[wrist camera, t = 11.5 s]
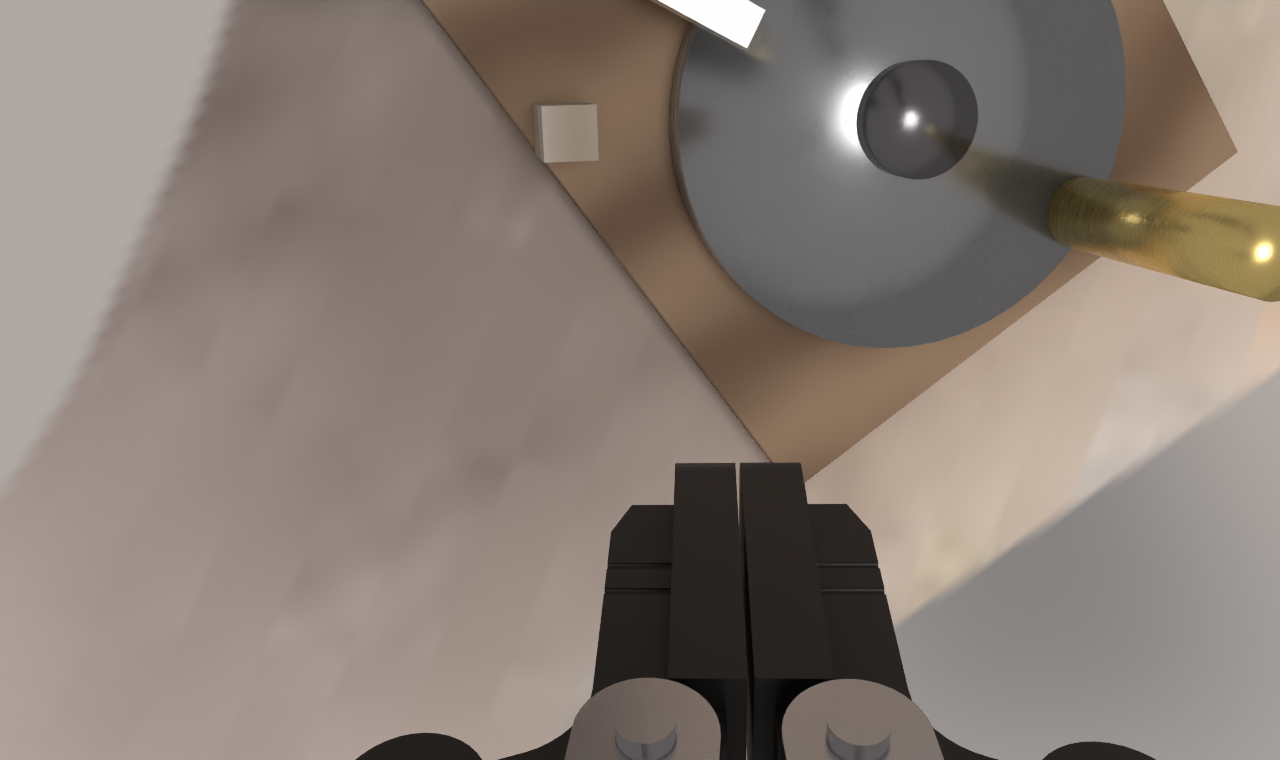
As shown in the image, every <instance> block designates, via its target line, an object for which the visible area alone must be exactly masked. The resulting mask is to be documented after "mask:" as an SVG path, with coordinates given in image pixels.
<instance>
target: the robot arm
mask: <svg viewBox="0 0 1280 760" xmlns="http://www.w3.org/2000/svg"><path fill="white" fill-rule="evenodd" d="M746 746H747V760H997V759H993V758H989V757H987V756H984V755H981V754H977V753H974V752H972V751H970V750H968V749H965V748H963V747H961V746H959V745H957V744H955V743H954V742H952V741H950V740H949V739H947V738H945V737H944V736H943V735H942V734H940V733H939V732H938V731H936V730H935V729H934V728H933V727H932V725H931V723H930V721H929V720H928V718H927V717H926V715H925V714H924V713H923V711H922V710H921V709H920V708H919V707H918V706H917V705H916V704H915V703H914V702H913V701H912V699H911V696H910V693H909V691H908V687H907V683H906V678H905V674H904V670H903V665H902V661H901V657H900V653H899V648H898V644H897V640H896V636H895V632H894V627H893V623H892V619H891V615H890V610H889V606H888V602H887V598H886V594H884V585H883V581H882V577H881V572H880V568H878V560H877V555H876V551H875V547H874V543H873V538H872V534H871V531H870V530H869V529H868V527H867V526H866V525H865V524H864V523H863V522H862V521H861V520H860V519H859V517H858V516H857V515H856V514H855V513H854V512H853V511H852V510H851V509H850V507H849V506H848V505H847V504H807V497H806V491H805V485H804V478H803V472H802V466H801V463H800V462H792V463H740V475H739V522H738V504H737V486H736V469H735V463H677V464H675V488H674V505H632V506H631V507H630V508H629V510H628V511H627V512H626V514H625V515H624V516H623V517H622V519H621V520H620V521H619V523H618V524H617V525H616V527H615V528H614V529H613V530H612V532H611V539H610V547H609V556H608V569H607V573H606V581H605V594H604V598H603V607H602V615H601V624H600V632H599V641H598V649H597V658H596V666H595V675H594V683H593V690H592V694H591V698H590V699H589V700H588V701H587V702H586V703H585V704H584V705H583V707H582V708H581V709H580V711H579V712H578V714H577V716H576V717H575V720H574V723H573V726H572V727H571V728H570V729H568V730H567V731H566V732H565V733H564V734H562V735H561V736H559V737H558V738H556V739H555V740H553V741H551V742H550V743H548V744H545V745H543V746H541V747H539V748H537V749H534V750H531V751H528V752H525V753H521V754H517V755H514V756H510V757H506V758H502V759H499V760H746ZM356 760H482V759H481V758H480V756H479V755H478V753H477V752H476V751H474V750H473V749H472V748H471V747H470V746H469V745H467V744H466V743H464V742H462V741H461V740H458V739H456V738H453V737H451V736H447V735H442V734H436V733H417V734H409V735H405V736H400V737H397V738H394V739H391V740H388V741H385V742H383V743H381V744H379V745H377V746H375V747H373V748H372V749H370V750H369V751H367V752H365V753H364V754H362V755H361V756H360V757H358V758H357V759H356ZM1043 760H1155V759H1154V758H1152V757H1150V756H1148V755H1146V754H1143V753H1141V752H1139V751H1136V750H1133V749H1130V748H1127V747H1125V746H1120V745H1116V744H1111V743H1103V742H1079V743H1074V744H1069V745H1066V746H1063V747H1060V748H1058V749H1056V750H1054V751H1053V752H1051V753H1049V754H1048V755H1047V756H1046V757H1045V758H1044V759H1043Z"/></svg>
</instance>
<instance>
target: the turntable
mask: <svg viewBox="0 0 1280 760" xmlns="http://www.w3.org/2000/svg"><path fill="white" fill-rule="evenodd" d="M421 1H422V2H423V4H424V5H425V6H426V8H427V9H428V10H429V11H430V13H431V14H432V15H433V17H434V18H435V19H436V21H437V22H438V23H439V25H440V26H441V27H442V29H443V30H444V31H445V33H446V34H447V35H448V37H449V38H450V39H451V40H452V42H453V43H454V44H455V46H456V47H457V48H458V50H459V51H460V52H461V54H462V55H463V56H464V58H465V59H466V60H467V62H468V63H469V64H470V66H471V67H472V68H473V69H474V71H475V72H476V73H477V75H478V76H479V77H480V79H481V80H482V81H483V83H484V84H485V85H486V87H487V88H488V89H489V91H490V92H491V93H492V95H493V96H494V97H495V98H496V100H497V101H498V102H499V104H500V105H501V106H502V108H503V109H504V110H505V112H506V113H507V114H508V116H509V117H510V118H511V120H512V121H513V122H514V124H515V125H516V126H517V127H518V129H519V130H520V131H521V133H522V134H523V135H524V137H525V138H526V139H527V141H528V142H529V143H530V145H531V146H532V147H533V149H534V150H535V151H536V156H537V157H538V158H539V159H540V160H542V161H543V162H544V163H545V164H546V166H547V167H548V168H549V170H550V171H551V172H552V174H553V175H554V176H555V178H556V179H557V180H558V182H559V183H560V184H561V185H562V187H563V188H564V189H565V191H566V192H567V193H568V195H569V196H570V197H571V199H572V200H573V201H574V203H575V204H576V205H577V207H578V208H579V209H580V211H581V212H582V213H583V214H584V216H585V217H586V218H587V220H588V221H589V222H590V224H591V225H592V226H593V228H594V229H595V230H596V232H597V233H598V234H599V236H600V237H601V238H602V240H603V241H604V242H605V243H606V245H607V246H608V247H609V249H610V250H611V251H612V253H613V254H614V255H615V257H616V258H617V259H618V261H619V262H620V263H621V265H622V266H623V267H624V269H625V270H626V271H627V272H628V274H629V275H630V276H631V278H632V279H633V280H634V282H635V283H636V284H637V286H638V287H639V288H640V290H641V291H642V292H643V294H644V295H645V296H646V298H647V299H648V300H649V301H650V303H651V304H652V305H653V307H654V308H655V309H656V311H657V312H658V313H659V315H660V316H661V317H662V319H663V320H664V321H665V323H666V324H667V325H668V327H669V328H670V329H671V330H672V332H673V333H674V334H675V336H676V337H677V338H678V340H679V341H680V342H681V344H682V345H683V346H684V348H685V349H686V350H687V352H688V353H689V354H690V356H691V357H692V358H693V359H694V361H695V362H696V363H697V365H698V366H699V367H700V369H701V370H702V371H703V373H704V374H705V375H706V377H707V378H708V379H709V381H710V382H711V383H712V385H713V386H714V387H715V388H716V390H717V391H718V392H719V394H720V395H721V396H722V398H723V399H724V400H725V402H726V403H727V404H728V406H729V407H730V408H731V410H732V411H733V412H734V414H735V415H736V416H737V417H738V419H739V420H740V421H741V423H742V424H743V425H744V427H745V428H746V429H747V431H748V432H749V433H750V435H751V436H752V437H753V439H754V440H755V441H756V443H757V444H758V445H759V446H760V448H761V449H762V450H763V452H764V453H765V454H766V456H767V457H768V458H769V460H770V461H771V462H772V463H792V462H800V463H801V466H802V472H803V478H804V483H805V482H806V481H807V480H809V479H810V478H811V477H813V476H814V475H815V474H816V473H818V472H819V471H820V470H822V469H823V468H824V467H826V466H827V465H828V464H830V463H831V462H832V461H833V460H835V459H836V458H837V457H839V456H840V455H841V454H843V453H844V452H845V451H847V450H848V449H849V448H851V447H852V446H853V445H854V444H856V443H857V442H858V441H860V440H861V439H862V438H864V437H865V436H866V435H868V434H869V433H870V432H871V431H873V430H874V429H875V428H877V427H878V426H879V425H881V424H882V423H883V422H885V421H886V420H887V419H889V418H890V417H891V416H892V415H894V414H895V413H896V412H898V411H899V410H900V409H902V408H903V407H904V406H906V405H907V404H908V403H909V402H911V401H912V400H913V399H915V398H916V397H917V396H919V395H920V394H921V393H923V392H924V391H925V390H926V389H928V388H929V387H930V386H932V385H933V384H934V383H936V382H937V381H938V380H940V379H941V378H942V377H944V376H945V375H946V374H947V373H949V372H950V371H951V370H953V369H954V368H955V367H957V366H958V365H959V364H961V363H962V362H963V361H964V360H966V359H967V358H968V357H970V356H971V355H972V354H974V353H975V352H976V351H978V350H979V349H980V348H982V347H983V346H984V345H985V344H987V343H988V342H989V341H991V340H992V339H993V338H995V337H996V336H997V335H999V334H1000V333H1001V332H1002V331H1004V330H1005V329H1006V328H1008V327H1009V326H1010V325H1012V324H1013V323H1014V322H1016V321H1017V320H1018V319H1019V318H1021V317H1022V316H1023V315H1025V314H1026V313H1027V312H1029V311H1030V310H1031V309H1033V308H1034V307H1035V306H1037V305H1038V304H1039V303H1040V302H1042V301H1043V300H1044V299H1046V298H1047V297H1048V296H1050V295H1051V294H1052V293H1054V292H1055V291H1056V290H1057V289H1059V288H1060V287H1061V286H1063V285H1064V284H1065V283H1067V282H1068V281H1069V280H1071V279H1072V278H1073V277H1075V276H1076V275H1077V274H1078V273H1080V272H1081V271H1082V270H1084V269H1085V268H1086V267H1088V266H1089V265H1090V264H1092V263H1093V262H1094V261H1095V260H1097V259H1098V258H1099V257H1101V256H1098V255H1094V254H1091V253H1087V252H1083V251H1080V250H1076V249H1071V250H1070V251H1069V252H1068V254H1067V255H1066V256H1065V257H1064V259H1063V260H1062V261H1061V262H1060V264H1059V265H1058V266H1057V267H1056V268H1055V269H1054V270H1053V271H1052V272H1051V273H1050V274H1049V275H1048V276H1047V277H1046V278H1045V279H1044V280H1043V281H1042V282H1041V283H1040V284H1039V285H1038V286H1037V287H1036V288H1035V289H1034V290H1033V291H1032V292H1030V293H1029V294H1028V295H1026V296H1025V297H1024V298H1023V299H1021V300H1020V301H1019V302H1018V303H1016V304H1015V305H1014V306H1013V307H1011V308H1009V309H1008V310H1006V311H1004V312H1003V313H1001V314H1000V315H998V316H996V317H995V318H993V319H991V320H990V321H988V322H986V323H984V324H982V325H980V326H977V327H975V328H973V329H971V330H969V331H967V332H964V333H962V334H959V335H956V336H953V337H950V338H946V339H943V340H940V341H937V342H933V343H927V344H922V345H916V346H911V347H895V348H873V347H862V346H853V345H848V344H844V343H840V342H835V341H831V340H827V339H824V338H822V337H819V336H816V335H814V334H811V333H809V332H806V331H803V330H801V329H799V328H797V327H796V326H794V325H792V324H790V323H788V322H787V321H785V320H783V319H781V318H779V317H778V316H776V315H775V314H773V313H772V312H771V311H769V310H768V309H766V308H765V307H764V306H762V305H761V304H760V303H758V302H757V301H756V300H754V299H753V298H752V297H750V296H749V295H748V294H747V293H745V292H744V291H743V290H742V289H741V288H740V287H739V286H738V285H737V284H736V283H735V282H734V281H733V280H732V279H731V278H730V277H729V276H728V275H727V274H726V273H725V272H724V271H723V270H722V269H721V267H720V266H719V265H718V263H717V262H716V261H715V259H714V258H713V257H712V255H711V254H710V253H709V252H708V250H707V249H706V247H705V245H704V244H703V242H702V240H701V238H700V237H699V235H698V233H697V231H696V229H695V228H694V226H693V224H692V222H691V219H690V217H689V214H688V212H687V209H686V207H685V204H684V202H683V199H682V197H681V193H680V189H679V185H678V181H677V177H676V173H675V169H674V165H673V156H672V148H671V140H670V101H671V94H672V86H673V78H674V71H675V67H676V64H677V60H678V56H679V52H680V48H681V44H682V40H683V38H684V35H685V33H686V30H687V28H688V25H689V23H690V22H689V21H687V20H685V19H683V18H682V17H680V16H678V15H676V14H674V13H672V12H671V11H669V10H667V9H665V8H663V7H661V6H660V5H658V4H656V3H654V2H652V1H650V0H421ZM1111 1H1112V4H1113V6H1114V9H1115V12H1116V16H1117V21H1118V25H1119V29H1120V33H1121V37H1122V42H1123V51H1124V60H1125V69H1126V102H1125V111H1124V119H1123V127H1122V134H1121V138H1120V142H1119V147H1118V151H1117V155H1116V159H1115V163H1114V166H1113V169H1112V172H1111V174H1110V177H1109V180H1113V181H1119V182H1126V183H1132V184H1139V185H1145V186H1152V187H1158V188H1165V189H1171V190H1178V191H1184V192H1186V191H1187V190H1188V189H1190V188H1191V187H1192V186H1194V185H1195V184H1196V183H1198V182H1199V181H1200V180H1202V179H1203V178H1204V177H1205V176H1207V175H1208V174H1209V173H1211V172H1212V171H1213V170H1215V169H1216V168H1217V167H1219V166H1220V165H1221V164H1223V163H1224V162H1225V161H1226V160H1228V159H1229V158H1230V157H1232V156H1233V155H1234V154H1236V153H1237V150H1236V147H1235V145H1234V143H1233V141H1232V139H1231V137H1230V135H1229V133H1228V131H1227V129H1226V127H1225V125H1224V123H1223V121H1222V119H1221V117H1220V115H1219V113H1218V111H1217V109H1216V107H1215V105H1214V103H1213V101H1212V99H1211V97H1210V95H1209V93H1208V91H1207V89H1206V87H1205V85H1204V83H1203V81H1202V79H1201V77H1200V75H1199V73H1198V71H1197V69H1196V67H1195V65H1194V63H1193V61H1192V58H1191V56H1190V54H1189V52H1188V50H1187V48H1186V46H1185V44H1184V42H1183V40H1182V38H1181V36H1180V34H1179V32H1178V30H1177V28H1176V26H1175V24H1174V22H1173V20H1172V18H1171V16H1170V14H1169V12H1168V10H1167V8H1166V6H1165V4H1164V2H1163V0H1111Z"/></svg>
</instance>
